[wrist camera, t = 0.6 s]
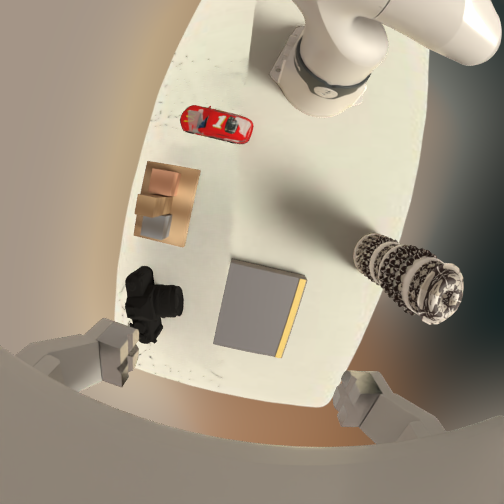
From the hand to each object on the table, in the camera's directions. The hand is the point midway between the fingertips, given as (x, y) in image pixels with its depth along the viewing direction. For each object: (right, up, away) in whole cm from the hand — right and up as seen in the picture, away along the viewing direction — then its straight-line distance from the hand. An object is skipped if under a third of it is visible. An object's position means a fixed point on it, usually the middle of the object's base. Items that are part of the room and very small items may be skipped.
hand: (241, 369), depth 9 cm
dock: (+2, -6, +43) cm, 44 cm away
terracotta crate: (-14, +17, +36) cm, 42 cm away
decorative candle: (+24, +4, +41) cm, 48 cm away
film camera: (-18, -5, +43) cm, 47 cm away
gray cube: (-16, +10, +38) cm, 42 cm away
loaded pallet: (-15, +14, +39) cm, 44 cm away
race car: (-9, +28, +38) cm, 48 cm away
